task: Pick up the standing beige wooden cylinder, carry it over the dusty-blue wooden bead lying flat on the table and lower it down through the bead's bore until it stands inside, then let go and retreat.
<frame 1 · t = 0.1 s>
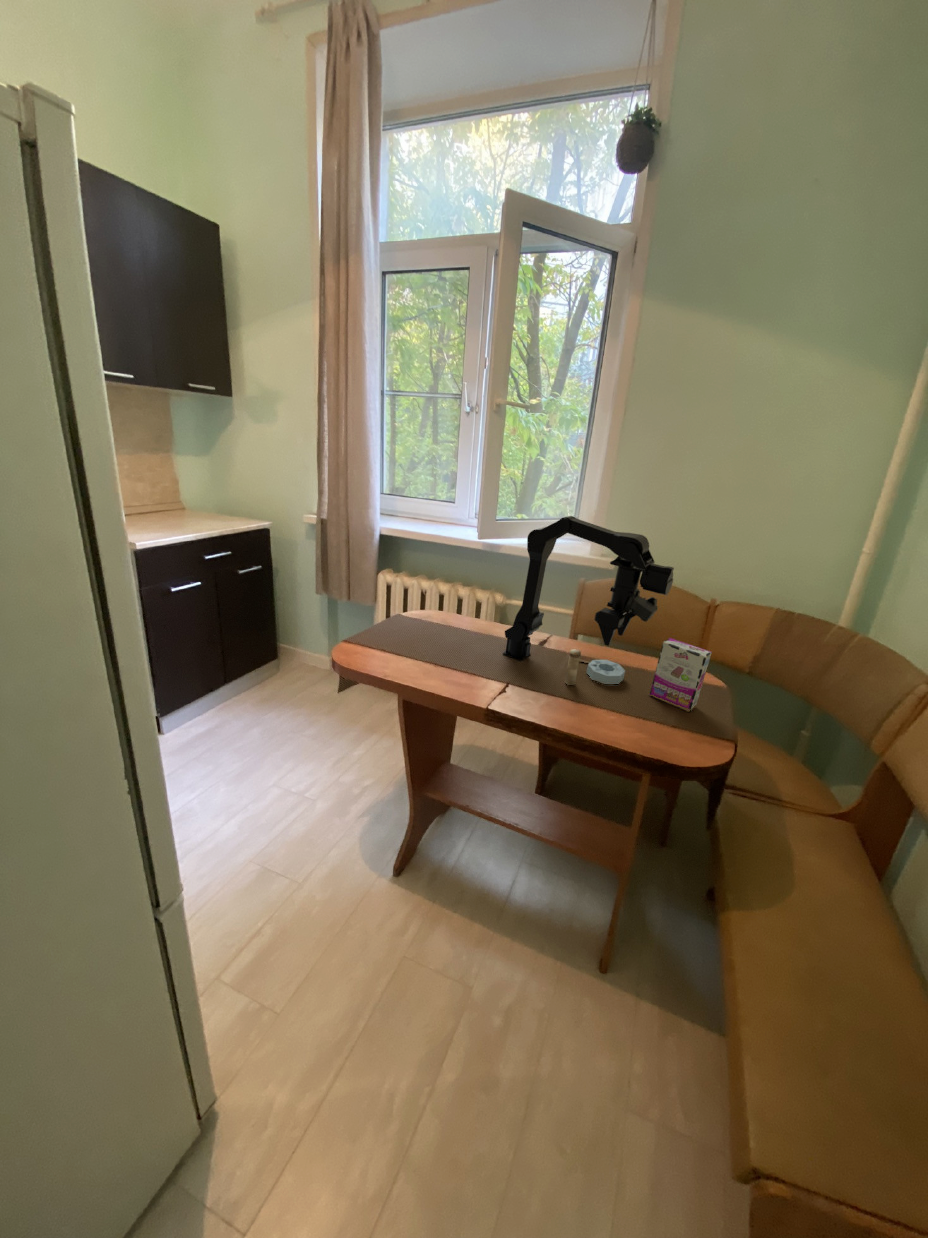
hand: (613, 640, 129), 14 cm above the table, fingers open, 9 cm apart
candy bar box: (671, 701, 130), on the table
bead: (604, 676, 140), on the table
beige wooden cylinder: (569, 683, 135), on the table
brown wooden stick: (597, 666, 146), on the table
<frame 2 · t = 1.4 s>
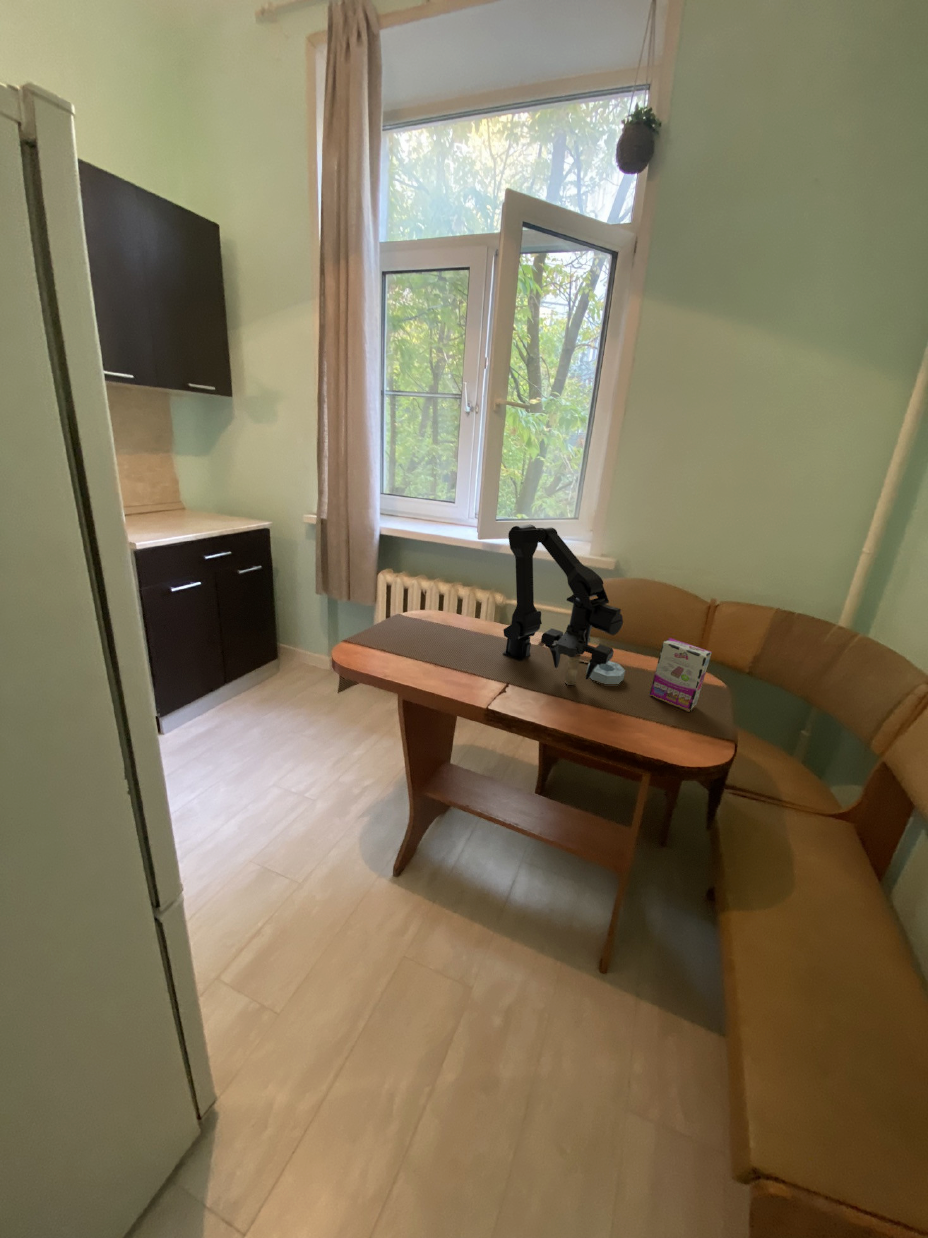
hand: (571, 673, 133), 3 cm above the table, fingers open, 9 cm apart
nothing on the table moved.
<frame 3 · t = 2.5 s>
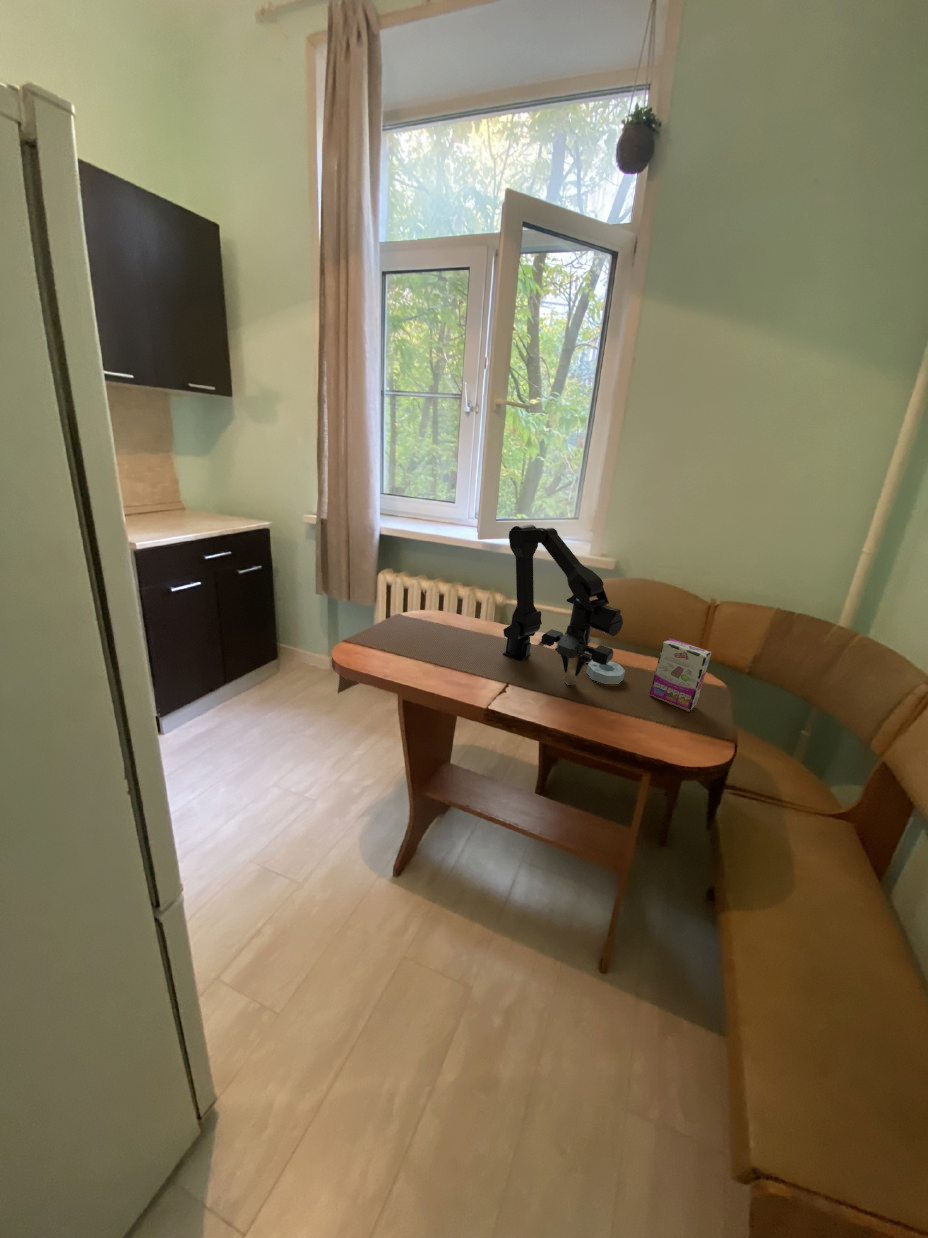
hand: (571, 673, 133), 3 cm above the table, fingers closed on beige wooden cylinder, 3 cm apart
beige wooden cylinder: (569, 683, 135), on the table, touching gripper
everything else where it was.
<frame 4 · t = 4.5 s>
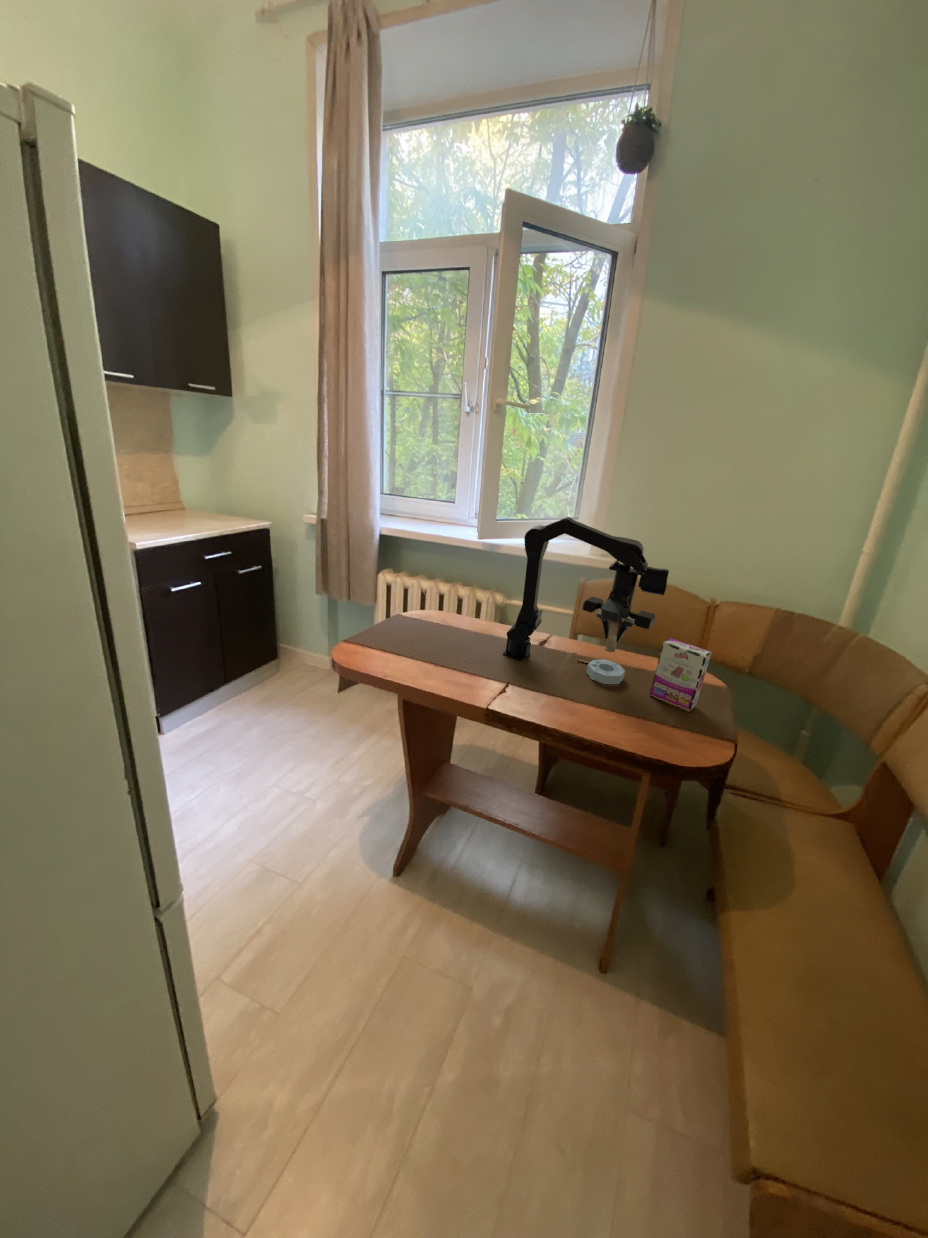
hand: (612, 640, 135), 12 cm above the table, fingers closed on beige wooden cylinder, 3 cm apart
beige wooden cylinder: (609, 649, 137), point 9 cm above the table, touching gripper
everything else where it was.
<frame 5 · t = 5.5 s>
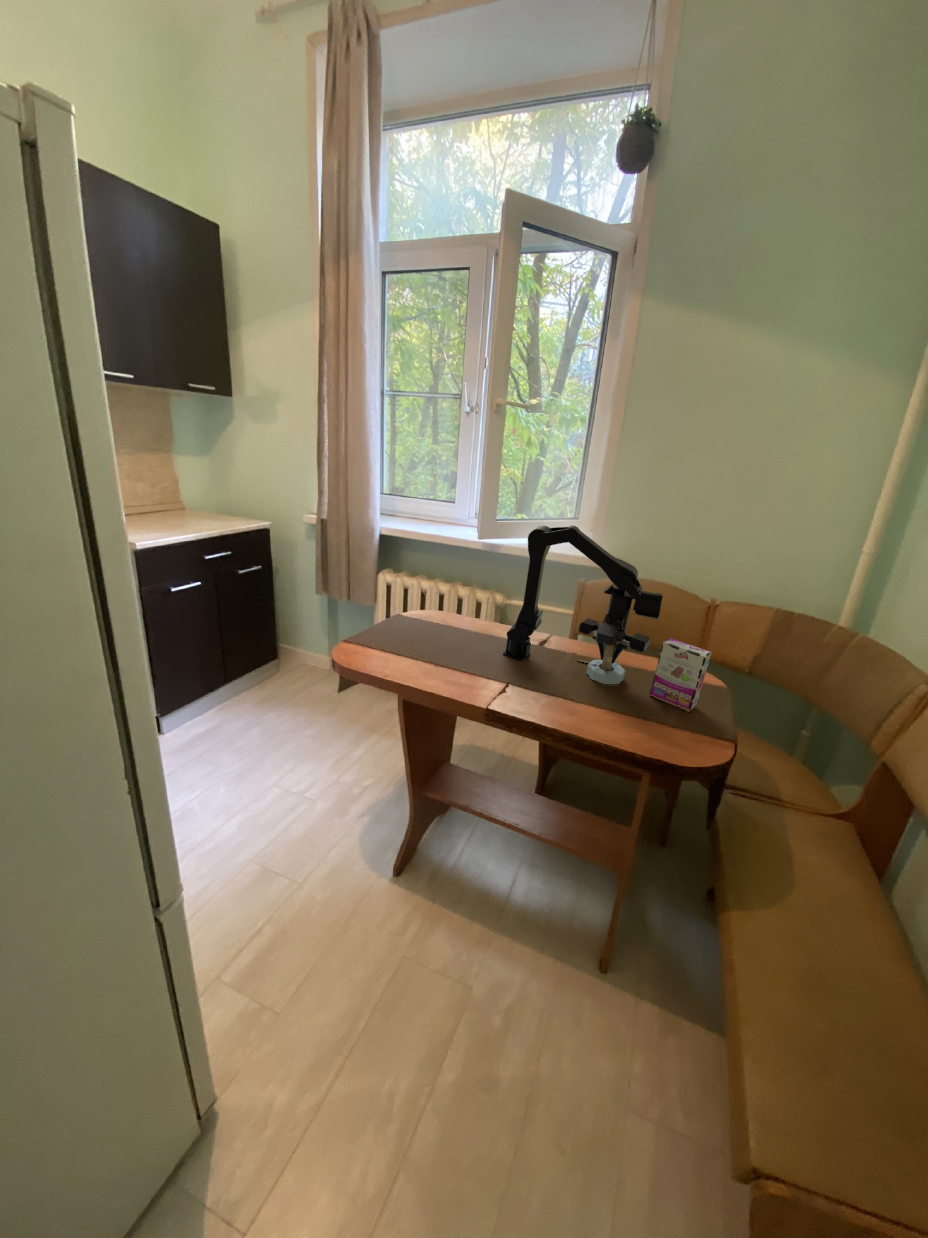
hand: (607, 661, 138), 5 cm above the table, fingers closed on beige wooden cylinder, 3 cm apart
beige wooden cylinder: (605, 670, 139), point 2 cm above the table, touching gripper
everything else where it was.
when the fingers open (4 cm above the table, at t = 6.3 s): beige wooden cylinder stays where it is, resting in bead.
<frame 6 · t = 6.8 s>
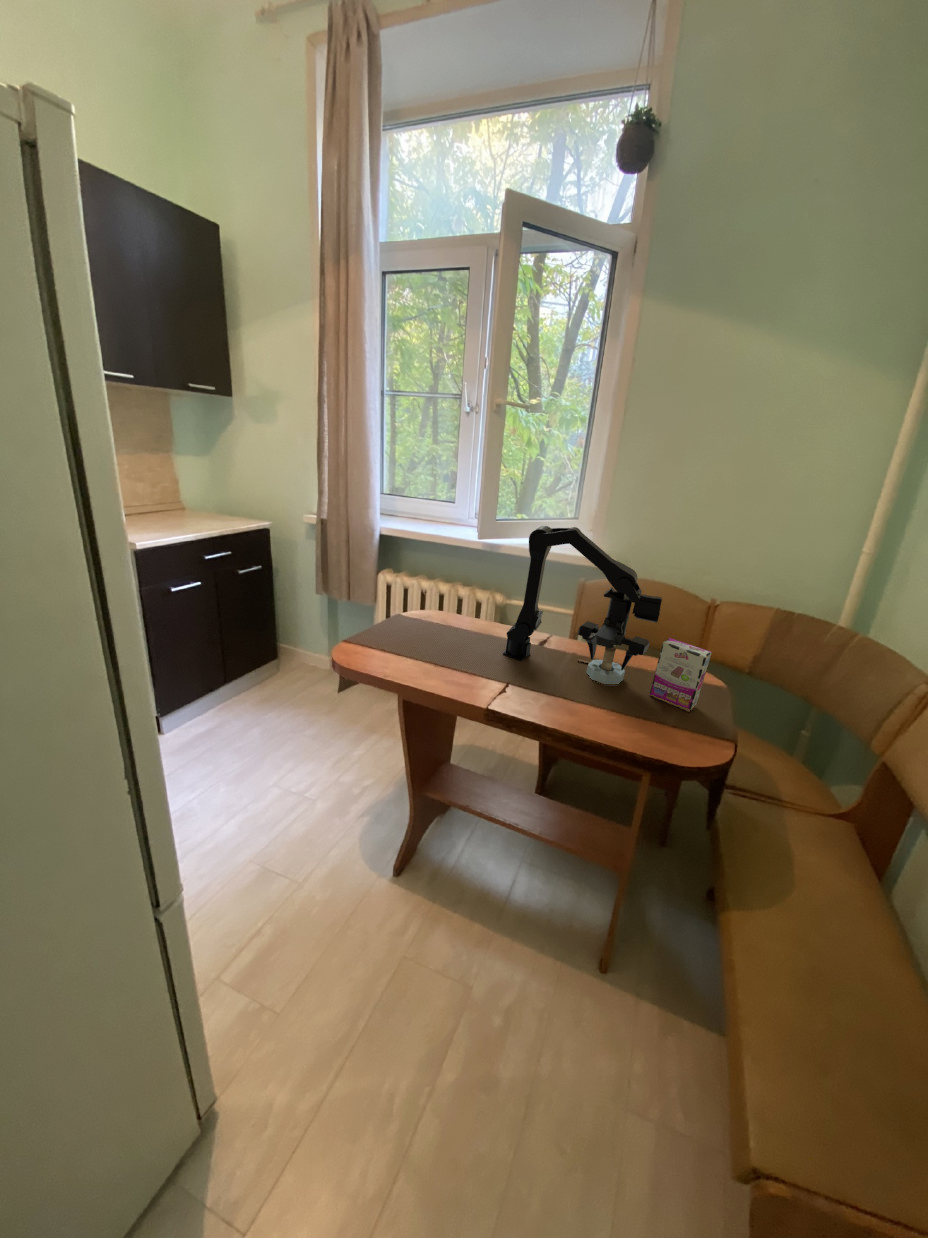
hand: (607, 664, 138), 4 cm above the table, fingers open, 9 cm apart
beige wooden cylinder: (604, 676, 140), resting in bead
everything else where it was.
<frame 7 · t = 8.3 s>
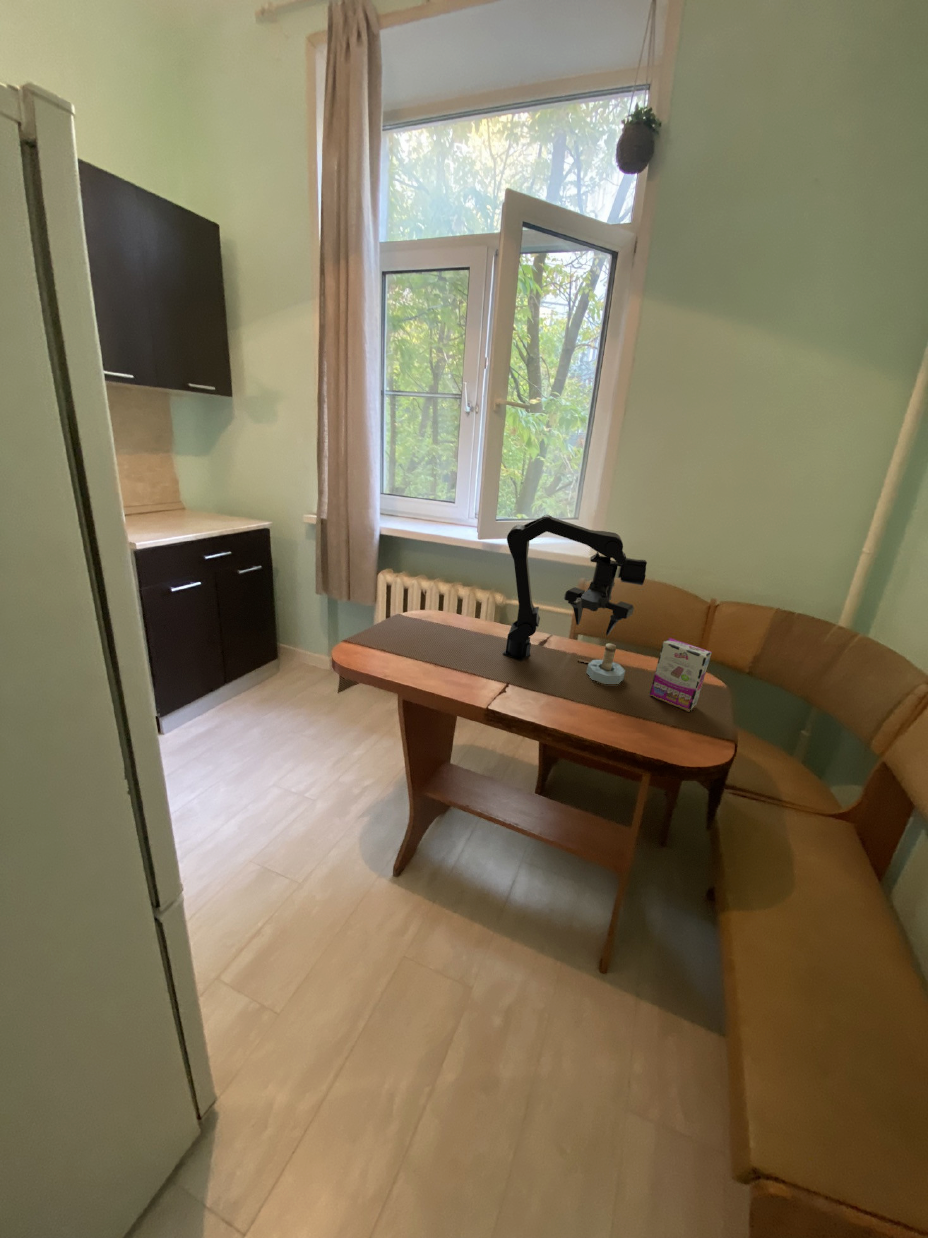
hand: (592, 629, 140), 12 cm above the table, fingers open, 9 cm apart
nothing on the table moved.
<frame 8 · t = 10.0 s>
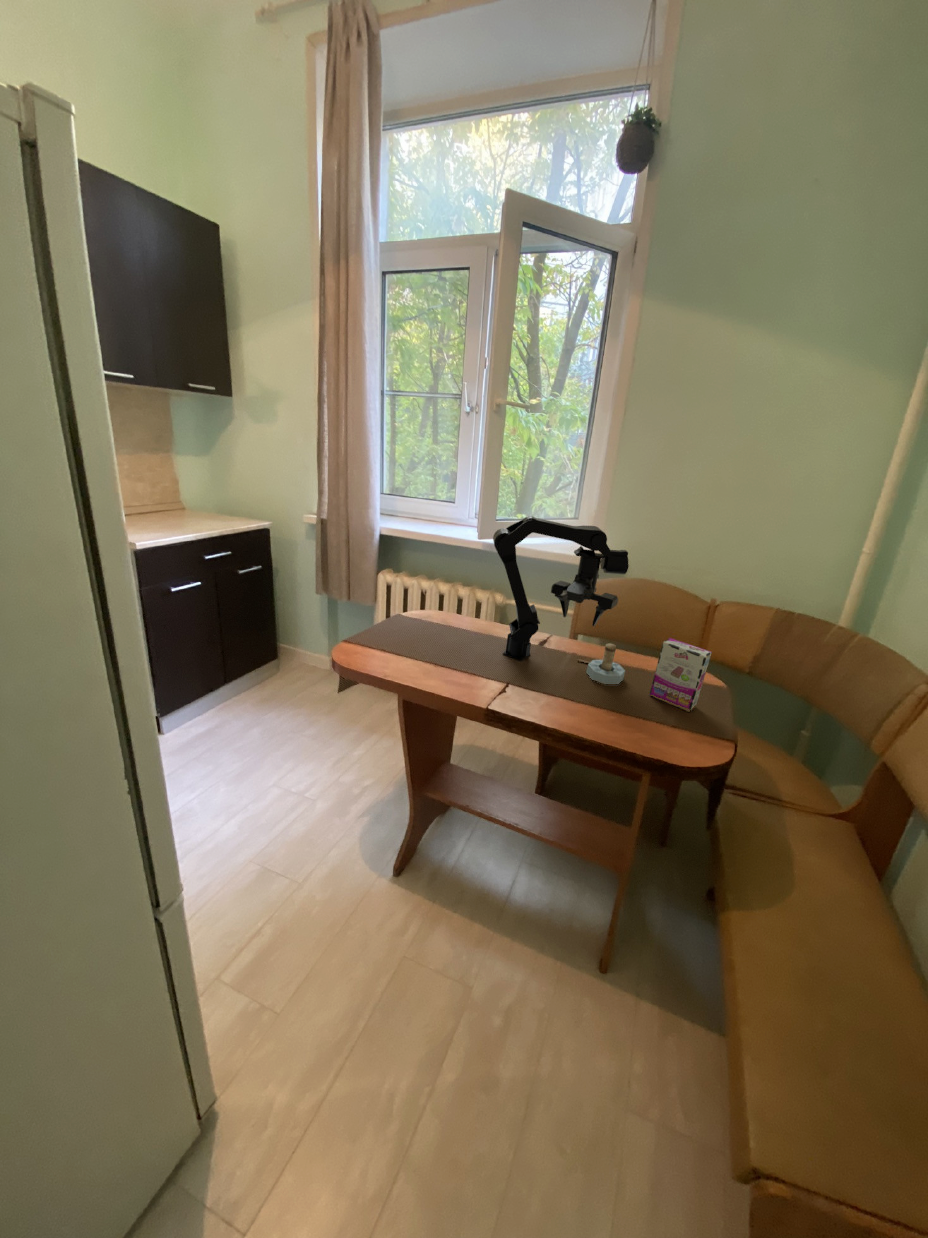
hand: (578, 621, 144), 13 cm above the table, fingers open, 9 cm apart
nothing on the table moved.
at the end: beige wooden cylinder 0.1 cm off-centre on the bead, point 0.0 cm above the bead's base; beige wooden cylinder tilted 0°; the gripper is holding nothing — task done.
